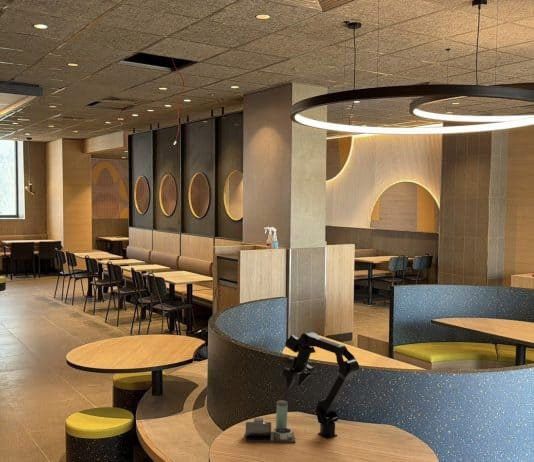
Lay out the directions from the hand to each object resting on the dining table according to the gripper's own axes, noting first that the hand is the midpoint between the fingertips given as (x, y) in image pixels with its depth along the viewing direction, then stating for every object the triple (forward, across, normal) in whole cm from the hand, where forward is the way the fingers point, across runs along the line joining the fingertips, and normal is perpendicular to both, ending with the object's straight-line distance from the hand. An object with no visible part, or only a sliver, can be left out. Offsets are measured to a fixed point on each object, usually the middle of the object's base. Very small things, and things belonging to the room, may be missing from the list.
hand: (293, 387), depth 280 cm
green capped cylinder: (+17, +10, +7) cm, 20 cm away
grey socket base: (+17, +20, +9) cm, 28 cm away
